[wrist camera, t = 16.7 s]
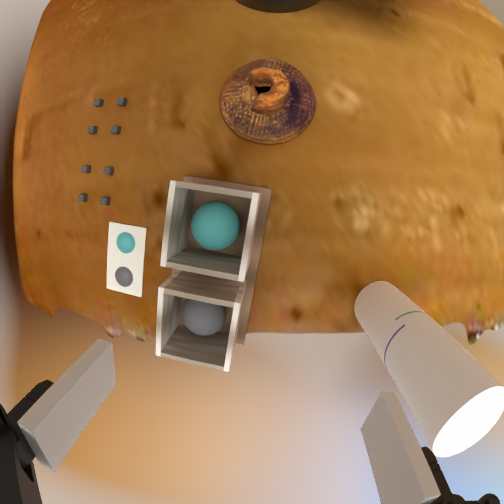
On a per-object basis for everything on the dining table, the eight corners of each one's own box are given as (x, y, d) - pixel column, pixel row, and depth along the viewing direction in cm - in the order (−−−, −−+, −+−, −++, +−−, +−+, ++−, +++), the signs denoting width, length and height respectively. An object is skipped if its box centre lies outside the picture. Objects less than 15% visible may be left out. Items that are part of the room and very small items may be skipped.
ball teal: (201, 197, 35) (188, 199, 30) (245, 204, 35) (240, 207, 30) (195, 241, 36) (182, 250, 31) (238, 248, 36) (232, 259, 31)
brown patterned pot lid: (307, 153, 34) (317, 144, 27) (213, 137, 35) (200, 126, 28) (320, 71, 32) (330, 48, 25) (229, 58, 32) (221, 33, 25)
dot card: (110, 221, 38) (109, 221, 37) (147, 228, 37) (146, 228, 37) (107, 287, 40) (106, 288, 39) (142, 296, 40) (141, 297, 39)
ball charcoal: (190, 282, 38) (178, 296, 32) (231, 290, 37) (225, 306, 32) (186, 319, 39) (175, 338, 33) (225, 327, 39) (219, 347, 33)
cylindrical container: (343, 307, 38) (417, 443, 14) (380, 270, 37) (496, 370, 12) (373, 336, 39) (449, 464, 14) (408, 302, 37) (513, 405, 13)
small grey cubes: (98, 100, 34) (94, 99, 33) (127, 99, 34) (123, 97, 33) (81, 200, 37) (77, 201, 36) (109, 204, 37) (105, 204, 36)
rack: (185, 176, 36) (160, 172, 27) (271, 189, 35) (272, 188, 27) (169, 325, 40) (146, 357, 31) (244, 341, 40) (237, 378, 31)
